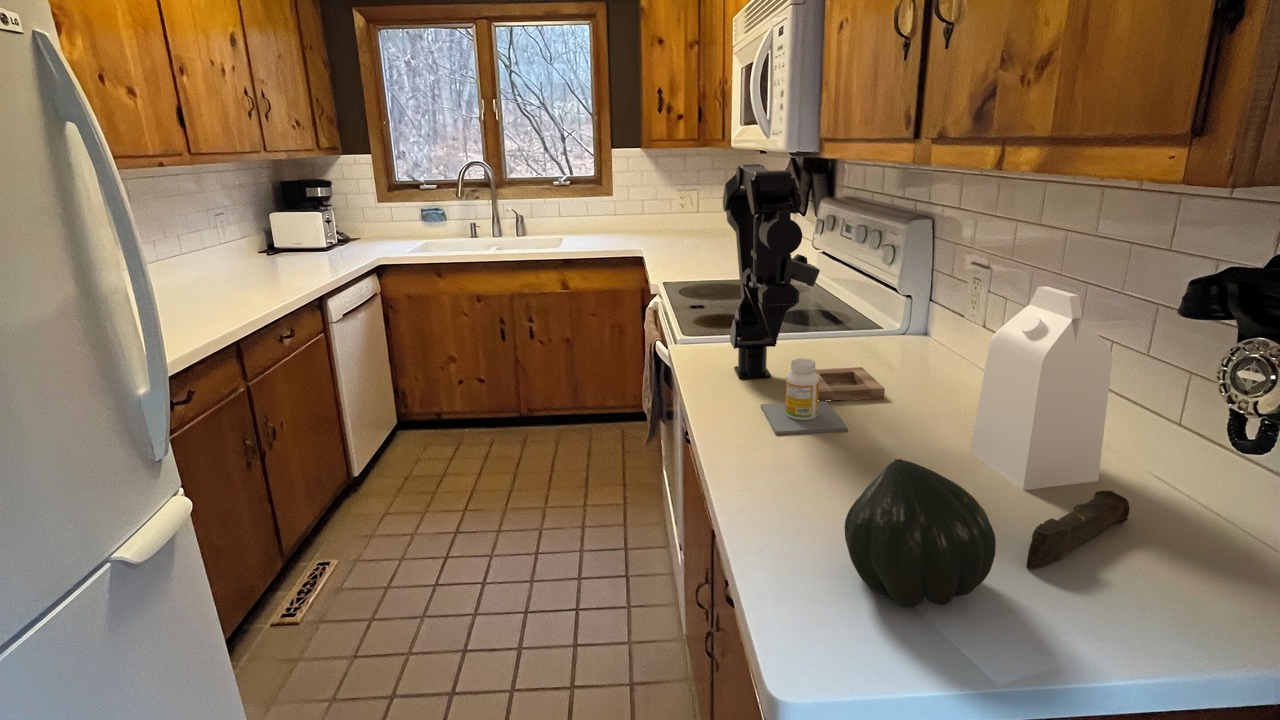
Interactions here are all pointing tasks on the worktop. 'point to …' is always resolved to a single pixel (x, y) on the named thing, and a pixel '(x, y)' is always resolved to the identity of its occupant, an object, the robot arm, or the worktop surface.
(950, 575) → the squash
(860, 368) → the hole board
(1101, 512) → the hand tool
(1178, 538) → the worktop surface
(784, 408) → the slate mat
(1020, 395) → the milk
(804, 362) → the supplement bottle
